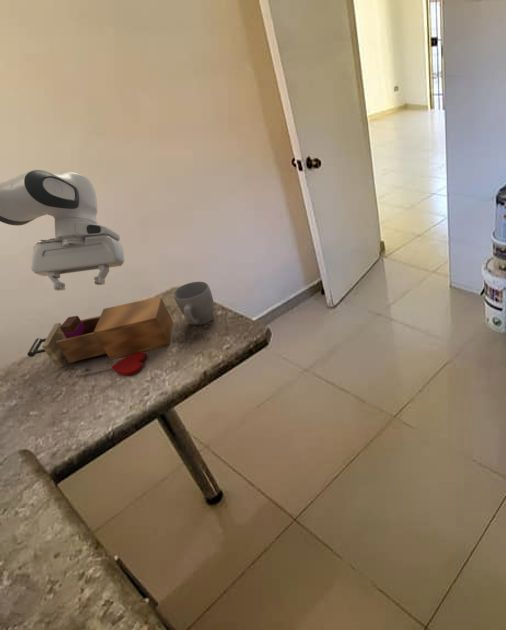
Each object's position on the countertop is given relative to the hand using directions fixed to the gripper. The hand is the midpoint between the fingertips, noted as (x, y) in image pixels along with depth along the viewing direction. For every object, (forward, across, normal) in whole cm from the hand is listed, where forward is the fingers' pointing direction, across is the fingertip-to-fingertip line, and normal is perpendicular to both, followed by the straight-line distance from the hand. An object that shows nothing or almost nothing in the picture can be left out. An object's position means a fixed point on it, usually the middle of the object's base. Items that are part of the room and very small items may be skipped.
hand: (79, 287), depth 109 cm
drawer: (+16, -3, +4) cm, 16 cm away
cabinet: (+14, +11, +6) cm, 19 cm away
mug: (+12, +25, +10) cm, 29 cm away
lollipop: (+22, +7, -1) cm, 24 cm away
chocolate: (+15, -2, +4) cm, 15 cm away
